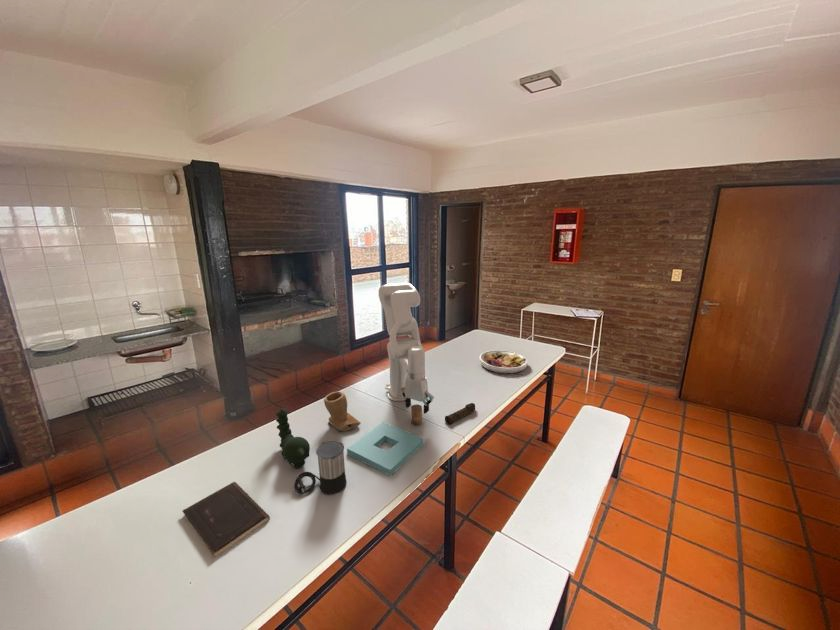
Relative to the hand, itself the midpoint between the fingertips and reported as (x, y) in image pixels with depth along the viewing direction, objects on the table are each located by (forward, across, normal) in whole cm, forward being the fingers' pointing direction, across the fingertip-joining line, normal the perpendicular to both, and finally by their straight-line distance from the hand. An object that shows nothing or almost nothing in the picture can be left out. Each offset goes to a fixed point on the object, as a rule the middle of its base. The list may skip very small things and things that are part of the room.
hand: (417, 409), depth 150 cm
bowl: (+6, +9, +86) cm, 86 cm away
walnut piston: (+7, -1, +1) cm, 7 cm away
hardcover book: (+9, -22, -74) cm, 78 cm away
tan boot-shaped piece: (+7, -29, -19) cm, 35 cm away
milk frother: (+8, -7, -50) cm, 51 cm away
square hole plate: (+8, -1, -21) cm, 23 cm away
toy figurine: (+8, -28, -45) cm, 54 cm away
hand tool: (+8, +14, +17) cm, 23 cm away
